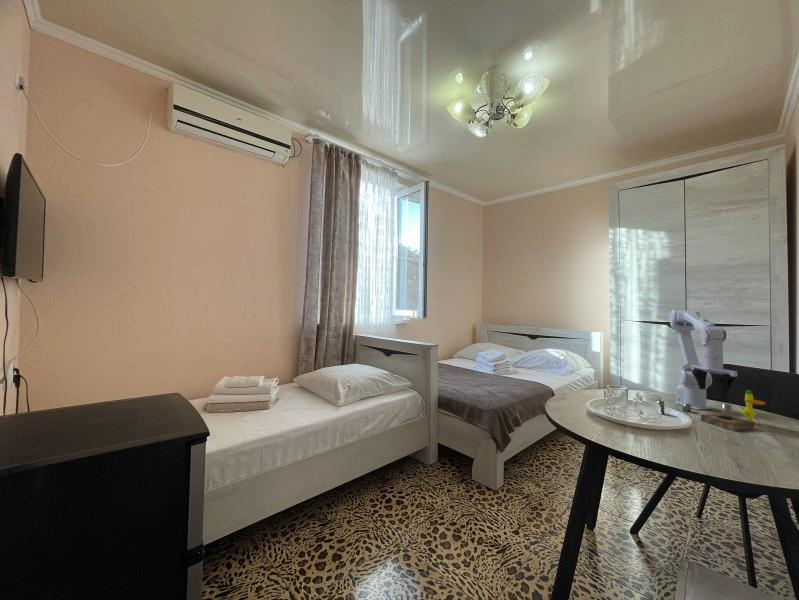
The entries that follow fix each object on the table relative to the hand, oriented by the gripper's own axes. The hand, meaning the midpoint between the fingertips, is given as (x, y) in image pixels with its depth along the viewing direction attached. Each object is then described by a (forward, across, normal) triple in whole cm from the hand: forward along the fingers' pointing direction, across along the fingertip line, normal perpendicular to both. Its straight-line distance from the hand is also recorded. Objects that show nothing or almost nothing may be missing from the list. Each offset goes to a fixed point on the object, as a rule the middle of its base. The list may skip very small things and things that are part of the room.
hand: (713, 391), depth 128 cm
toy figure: (+11, +7, +8) cm, 15 cm away
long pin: (+11, +6, -4) cm, 13 cm away
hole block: (+10, +6, -4) cm, 13 cm away
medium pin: (+10, -8, -16) cm, 21 cm away
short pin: (+10, -8, -2) cm, 13 cm away
